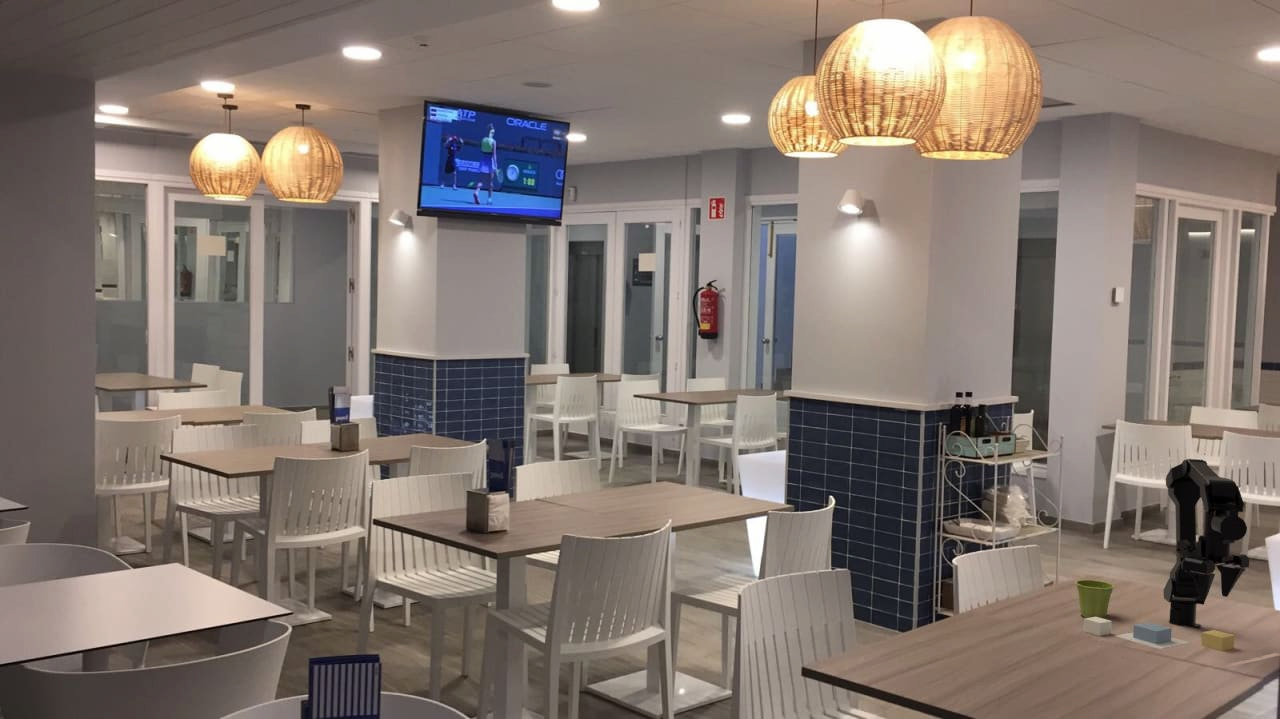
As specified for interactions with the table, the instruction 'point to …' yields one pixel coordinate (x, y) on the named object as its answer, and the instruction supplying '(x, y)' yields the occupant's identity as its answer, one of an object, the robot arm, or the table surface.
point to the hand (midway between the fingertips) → (1213, 598)
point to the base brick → (1152, 633)
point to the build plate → (1160, 645)
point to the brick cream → (1097, 626)
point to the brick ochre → (1217, 640)
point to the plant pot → (1094, 597)
